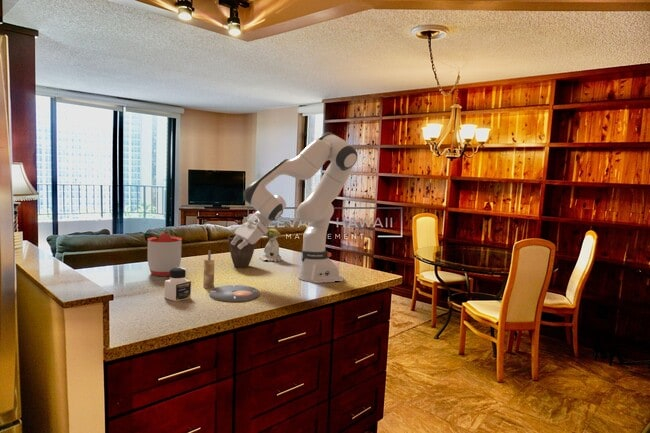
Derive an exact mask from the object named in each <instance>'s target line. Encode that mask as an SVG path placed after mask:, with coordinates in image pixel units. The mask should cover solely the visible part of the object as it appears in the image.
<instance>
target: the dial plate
mask: <svg viewBox="0 0 650 433" xmlns="http://www.w3.org/2000/svg"><path fill="white" fill-rule="evenodd" d="M259 295H260V291H259V289H258V288H257V287H256V288H255V287H253V286H249V285H244V284H243V285H241V284H231V285H229V284H227V285H220V286H216V287H213V288H211V289H210V291H209V297H210V298H211V299H213V300H216V301H219V302H228V303H237V302H238V303H240V302H241V303H242V302H247V301H248V302H249V301H251V300H255V299H257V298H258V297H259Z"/></svg>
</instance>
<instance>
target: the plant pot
mask: <svg viewBox="0 0 650 433" xmlns="http://www.w3.org/2000/svg"><path fill="white" fill-rule="evenodd" d="M235 236H236V234H232V235H228V237H227V239H228V246H229V253H230V257H231V260H232V263H233V266H234V267H235V268H238V269H245V268H248V267H249V265H250V263H251V260H252V257H253V255H254V252H255V248H256V243H257V242H256V243H254V244H250V243H248V244H247V245H246V246H244V247H243V248H242V249H239V248H238V247H237V246H238V245H239V244H241V243H242V242H243V241H244V240H242V239H240V240H238V241H237V242H236V244H235V245H232V244H231V242H232V241H233V239H234V237H235Z"/></svg>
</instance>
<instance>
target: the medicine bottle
mask: <svg viewBox="0 0 650 433" xmlns="http://www.w3.org/2000/svg"><path fill="white" fill-rule="evenodd" d="M191 287H192V281H191V280H190V279H187V269H186V268H184V267H180V266H179V267H176V268H172V269H171V270H170V275H169V279H166V280H164V295H163V296H164V297H163V298H164V299H167V300H169V301H172V302H175V303H177V302H180V301H183V300H187V299H190V298H191V297H192V296H191V295H192V294H191V291H192V288H191Z"/></svg>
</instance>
